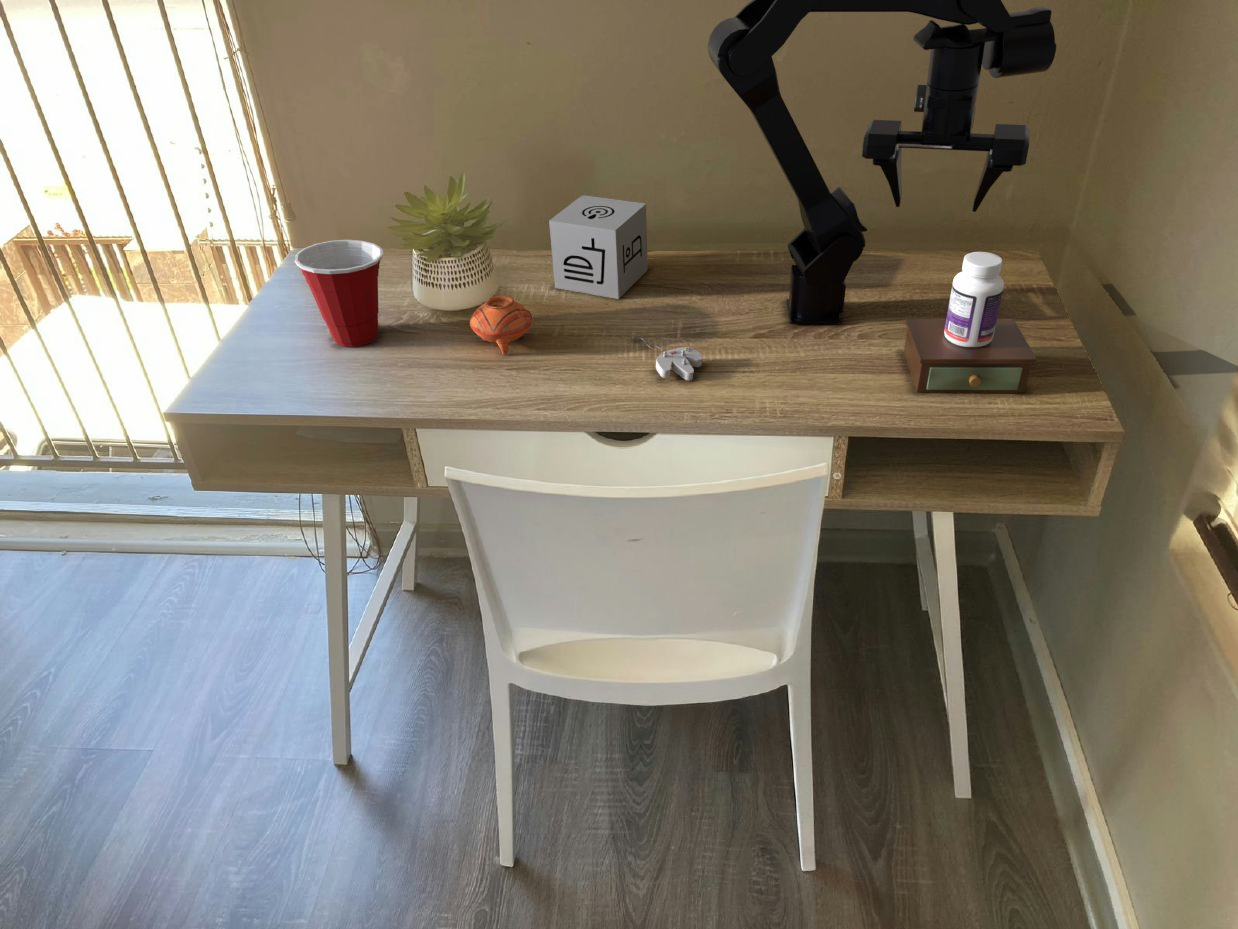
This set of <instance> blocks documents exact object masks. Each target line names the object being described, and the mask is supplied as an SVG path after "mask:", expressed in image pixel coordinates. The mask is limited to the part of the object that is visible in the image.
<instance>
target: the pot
mask: <svg viewBox="0 0 1238 929" xmlns="http://www.w3.org/2000/svg"><path fill="white" fill-rule="evenodd" d="M533 321H534V318H533V315H532V313H531V312H530V310H529V309H527V308H526V307H525V306H523V304H521V303H519V302H517V301H515V299H514V298H513V297H510V296H506V295H495V296H492V297H489V298H487V299H486V301H485V303H483V304H481V305H480V306H479V307H478V308H476V310H475V311H474V312H473V313H472V315H471V317H470V319H469V326H470V328H471V330H472V331H473V332H474V333H475V334H476V336H478V337H479V338H481V340H482V341H483V342H489V343H492V344H493V343H495V344H497V345H498V347H499V349H500V352H501V353H502V355H503V356H505V355H508V353H509V348H510V343H511V342H514V341H516V340H518V339H520V338H522V337H523V336H524V335H525V333H527V332H528V331H529V329H530V328H531V327H532V325H533Z"/></svg>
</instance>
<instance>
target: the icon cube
mask: <svg viewBox="0 0 1238 929" xmlns="http://www.w3.org/2000/svg"><path fill="white" fill-rule="evenodd" d="M548 222H549V223H548V225H549V237H550V245H551V246H550V247H551V257H552V269H553V281H554V288H555V289H560V290H565V291H570V292H577V293H580V294H581V293H582V294H587V295H594V296H598V297H605V298H609V299H617V300H619V299H620V298H621V297H622V296H623V295H624V294H625V293H626V292H628V290H630V288H631V287H632V286H634V285H635V283H636V282H638V281H639V280H640V279H641V277H643V275H644V274H646V272H647V271H649V270H648V269H649V268H648V231H647V229H648V228H647V224H648V223H647V203H645V202H636V201H629V200H621V199H613V198H606V197H598V196H593V195H592V196H591V195H583V194H582V195H580V196H579V197H578V198H576V199H575V200H574V201H572V202H571V203H570V204H568V206H566V207H565V208H563V209H562V210H561V211H560V212H558V213H557V214H556V215H554V216H553V217H552V218H550V219H549V220H548Z"/></svg>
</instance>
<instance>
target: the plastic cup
mask: <svg viewBox="0 0 1238 929" xmlns="http://www.w3.org/2000/svg"><path fill="white" fill-rule="evenodd" d="M383 257H384V248H382V247H381V246H379V245H377V244H376V243H373V242H369V241H366V240H359V239H357V240H356V239H339V240H338V239H336V240H328V241H323V242H318V243H314V244H311V245H309V246H307V247H304V248H301V250H300V251H299V250H298V252H297V253H295V256H294V263H295V265H297V266H298V268H299V269H300V271H301V273H302V275H303V276H304V279H305V282H306V284H307V285H308V286H309V289H310V291H311V294H312V296H313V299H314V301H315V303H316V306H317V308H318V310H319V312H320V315H321V317H322V319H323V321H324V322H325V324H326V327H327V328H328V331H329V333H330V335H331V338H332V339H333V341H334V342H335V343H336V345H338V346H339V347H340V346H341V347H343V348H357V347H362V346H365V345H368V344H370V343H372V342H374V341H375V340H376V339H377V337H379V270H380V264H381V261H382V259H383Z"/></svg>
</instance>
